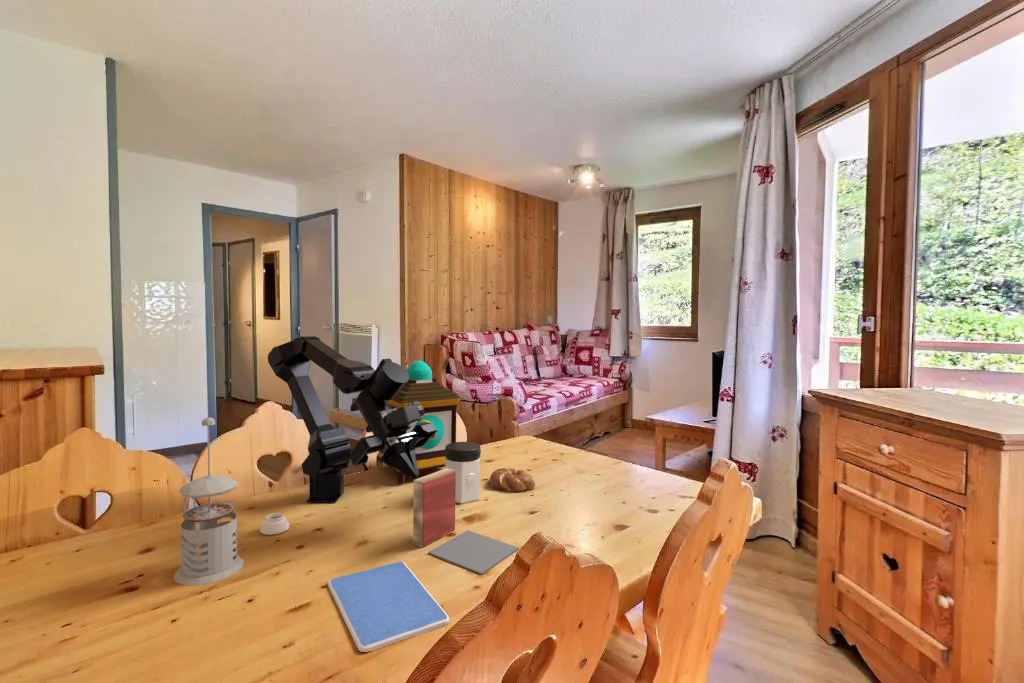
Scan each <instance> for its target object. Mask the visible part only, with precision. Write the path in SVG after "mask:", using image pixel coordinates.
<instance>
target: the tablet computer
mask: <svg viewBox="0 0 1024 683" xmlns="http://www.w3.org/2000/svg"><path fill="white" fill-rule="evenodd" d="M327 587H328V589H329V591H330V594H331V595H332V598H333V600H334V602H335V603H336V606H337V607H338V610H339V612H340V614H341V616H342V619H343V620H344V622H345V625H346V627H347V629H348V631H349V633H350V636H351V638H352V640H353V642H354V644H355V647H356V648H358V649H357V650H359V651H369V650H372V649H375V648H379V647H381V646H382V647H383V646H386V645H389V644H392V643H394V642H397V641H400V640H403V639H405V638H409V637H412V636H415V637H417V636H420V635H423V634H426V633H429V632H432V631H434V630H437V629H440V628H442V627H445V626H447V625H448V624H449V623H450V620H451V619H450V617H449V615H448V614H447V613H446V611H445V610H444V609H443V608H442V606H441V605H440V604H439V603H438V602H437V600H436V599H435V598H434V596H432V595H431V593H430V592H429V591H428V589H427V588H426V586H424V584H423V583H422V582H421V581H420V580H419V578H418V577H417V575H415V574H414V572H413V571H412V570H411V569H410V568H409V567H408V565H407V564H406V563H405V562H404V561H396V562H393V563H389V564H384V565H381V566H376V567H373V568H369V569H365V570H362V571H357V572H352V573H349V574H345V575H341V576H337V577H333V578H331V579H329V580H328V581H327ZM412 638H413V637H412ZM409 639H410V638H409ZM403 641H404V640H403ZM400 642H401V641H400ZM392 645H393V644H392ZM389 646H390V645H389ZM386 647H387V646H386ZM383 648H384V647H383ZM359 651H358V652H359Z"/></svg>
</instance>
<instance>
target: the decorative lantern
mask: <svg viewBox="0 0 1024 683" xmlns="http://www.w3.org/2000/svg"><path fill="white" fill-rule="evenodd" d="M406 370H407V372H408V374H409V379H408V381H407V382H406V384H405V385H404V386H403V387H402V389H401V390H400V391H399V392H398V394H397V395H396V396H395V397H394V399H392V400H387V402H388V403H389V405H390V407H391V408H392V409H395V408H397V409H399V408H401V407H405V406H408V404H412V402H416V401H419V403H420V404H421V405H422V406H423V408H424V412H425V413H424V415H423V416H421V420H420V421H418V420H417V421H415V422H413V423H411V424H410V425H411V427H410V429H409V430H407V431H406V434H408V433H410V432H411V431H412V430H413V429H414V428H415V426H416V425H419V424H423V423H427V422H429V423H432V424H433V425H434V427H435V428H436V430H437V432H436V433H435V434H434V435H433V436H432V437H431V439H430V440H429V441H428V442H427V443H426V444H425V445H424V446H423V447H420V448H417V449H415V455H416V461H417V466H418V471H419V472H423V471H427V470H434V469H439V468H445V459H446V457H445V447H446V445H447V444H450V443H454V442H457V410H458V409H457V408H458V405H459V403H460V401H461V396H459V394H458V393H456V392H455V391H454V390H453V389H451V388H447V387H446V386H444V385H441V383H440V382H438V381H437V379H436V378H434V377H433V372H432V368H430V366H429V365H428V364H427V363H426V362H425V361H422V360H415V361H413V362H411V364H410V365H409V366H408V367H407V369H406ZM381 457H382V455H381V453H380V451H378V452H377V454H376V460H375V462H376V467H377V468H378V469H381V468H383V464H384V465H386V466H387V467H389V468H390V469H391V470H392V471H394V472H395V473H396V474H397V482H398V484H399V485H404V482H405V477H406V476H407V475H406V474H404V473H403V472H401V471H399V470H398V469H396V468H394V467H392V466H390V465H388V464H386V463H384V462H381V463H380V462H379V459H380V458H381Z"/></svg>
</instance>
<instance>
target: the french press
mask: <svg viewBox="0 0 1024 683" xmlns="http://www.w3.org/2000/svg"><path fill="white" fill-rule="evenodd" d="M214 425H216V421H215V419H214V418H213V417H205V418H203V419H202V420H201V426H203V427H207V475H206V476H205V475H204V476H202V477H199V478H195V479H193V480H191V481H189V482H188V483H186V484H185V485H183V486H182V487H181V488H179V490H178V492H179V493H180V494H181V495H182V496H183V497H184V499H183V503H182V507H183V508H182V512H183V513H182V518H183V521H182V522H181V524H180V534H181V536H180V537H181V538H180V542H181V544H180V546H181V547H180V550H181V554H180V555H181V556H180V558H181V559H180V560H181V562H180V563H181V566H180V567H179V568H178V569H177V571H176V572H175V574H174V576H173V579H174V581H175V583H177V584H180V585H184V586H201V585H208V584H213V583H216V582H218V581H222V580H226V579H228V578H229V577H232V575H235V574H237V573H238V572H239V571H241V569H242V568H243V567H244V563H245V560H244V559H243V558H242V557H241V556H239V554H238V515H237V514H236V513H235V512H234V510H235V506H234V505H233V504H232V503H228V502H214V503H212V502H211V497H215V496H221V495H224V494H227V493H229V492H232V491H233V490H235V489H236V488H237V486H238V484H239V481H237V480H235V479H234V478H232V477H229V476H225V475H211V462H210V461H211V460H210V458H211V457H210V456H211V455H210V453H211V452H210V426H214ZM187 498H191V500H193V507H191V508H189V509H188V510H186V508H185V507H186V499H187ZM203 498H208V499H207V502H208V503H207V504H200V505H196V503H197V501H196V500H198V499H203ZM225 518H230V519H232V521H231V520H225V521H220V522H219V523H218V521H219V520H221V519H225ZM196 524H197V527H198V530H196ZM233 542H234V544H233ZM196 545H198V546H200V548H197V546H196ZM196 554H200V555H198V556H197V555H196Z"/></svg>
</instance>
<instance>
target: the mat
mask: <svg viewBox="0 0 1024 683" xmlns="http://www.w3.org/2000/svg"><path fill="white" fill-rule="evenodd" d="M518 549H520V547H518V546H515V545H513V544H510V543H508V542H507V543H506V542H503V541H501V540H498V539H494V538H492V537H489V536H485V535H483V534H480V533H477V532H474V531H471V530H465V531H463V532H462V533H461V534H458V535H457V536H455V537H453V538H451V539H449V540H448V541H445V542H444V543H442V544H440V545H438V546H437V547H435V548H432V549H431V550H429V551H428V552H427V553H428V555H430V556H433V557H436V558H438V559H441V560H443V561H446V562H449V563H451V564H453V565H456V566H459V567H461V568H464V569H466V570H468V571H471V572H474V573H475V574H478V575H484V574H485V573H487V572H489V571H490V570H491V569H492V568H494V567H496V566H497V565H498V564H500V563H501V562H502V561H504V560H505V559H507V558H508V557H510V556H512V555H513V554H514V553H516V552H517V551H518Z"/></svg>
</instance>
